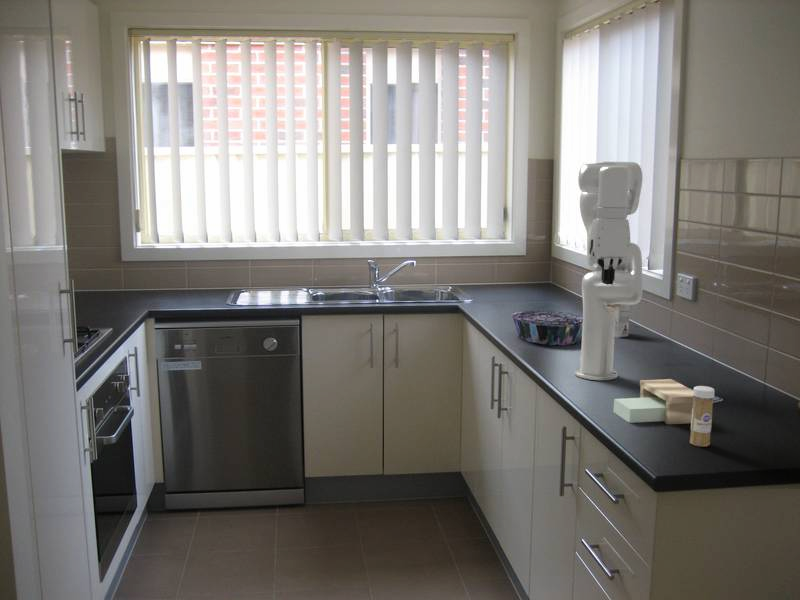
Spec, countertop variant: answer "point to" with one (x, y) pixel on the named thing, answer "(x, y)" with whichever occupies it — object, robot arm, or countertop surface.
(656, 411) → the mint green block
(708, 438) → the sprinkles bottle
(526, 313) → the decorative bowl
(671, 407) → the birch shelf
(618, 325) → the coffee box
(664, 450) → the countertop surface
